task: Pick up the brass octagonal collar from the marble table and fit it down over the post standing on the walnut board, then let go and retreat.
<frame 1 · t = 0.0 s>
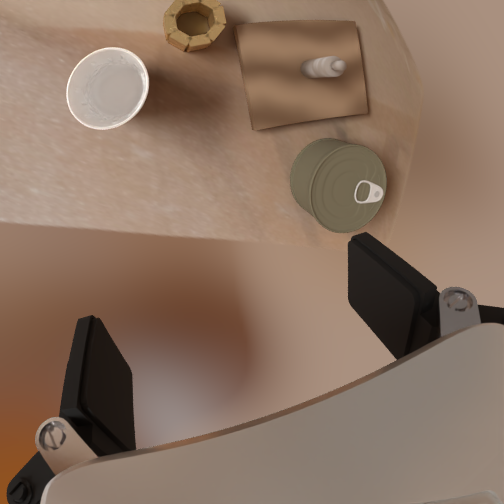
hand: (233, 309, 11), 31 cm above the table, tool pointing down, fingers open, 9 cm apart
ring: (191, 26, 30), on the table
white cup: (119, 91, 32), on the table
can: (325, 176, 45), on the table
post block: (304, 69, 36), on the table
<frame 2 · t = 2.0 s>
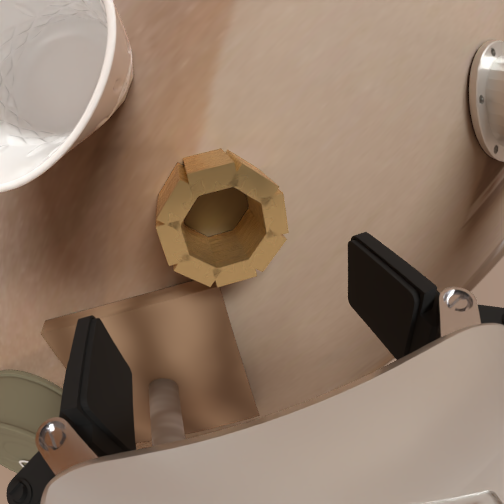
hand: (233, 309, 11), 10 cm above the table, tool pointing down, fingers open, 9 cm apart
ring: (213, 203, 20), on the table
white cup: (78, 76, 14), on the table
can: (35, 404, 24), on the table
post block: (162, 374, 25), on the table
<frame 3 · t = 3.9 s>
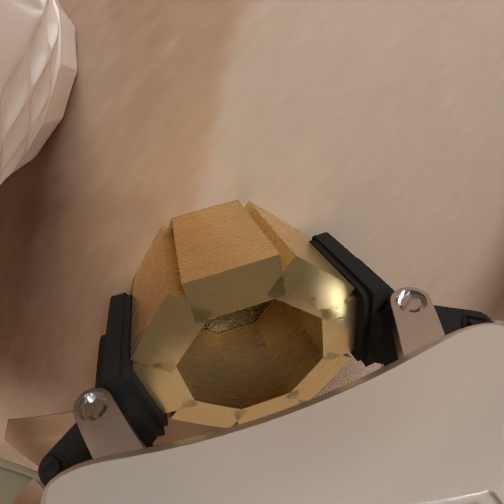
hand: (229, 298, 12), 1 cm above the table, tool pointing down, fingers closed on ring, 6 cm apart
ring: (225, 288, 12), on the table, touching gripper
can: (20, 482, 16), on the table
post block: (161, 468, 18), on the table
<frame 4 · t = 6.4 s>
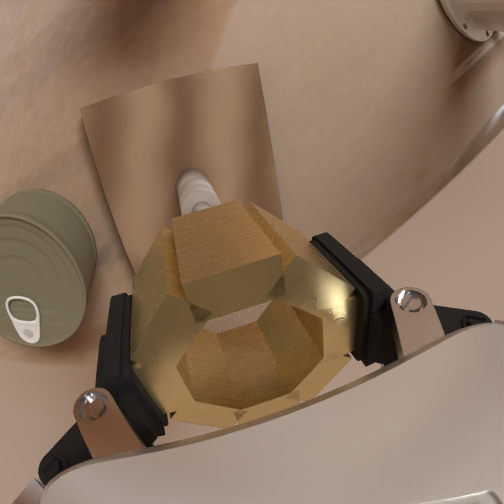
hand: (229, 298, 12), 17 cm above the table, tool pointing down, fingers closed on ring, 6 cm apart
ring: (225, 288, 12), point 16 cm above the table, touching gripper
can: (41, 247, 25), on the table
post block: (190, 178, 26), on the table
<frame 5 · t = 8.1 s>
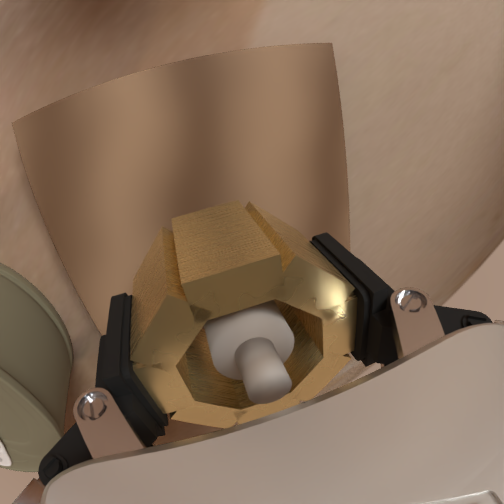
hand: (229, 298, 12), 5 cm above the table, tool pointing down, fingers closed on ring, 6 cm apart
ring: (225, 288, 12), point 4 cm above the table, touching gripper
post block: (209, 238, 16), on the table
when the fingers open (4 cm above the table, at t = 9.2 s): ring drops 2 cm, resting on post block.
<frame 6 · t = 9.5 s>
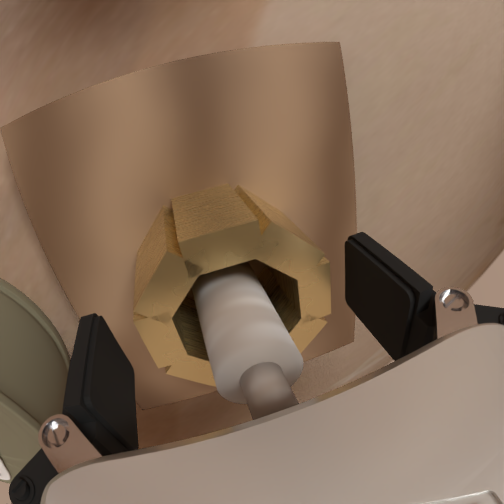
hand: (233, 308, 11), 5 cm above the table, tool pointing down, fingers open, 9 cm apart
ring: (217, 262, 14), point 1 cm above the table, touching post block
post block: (210, 248, 15), on the table
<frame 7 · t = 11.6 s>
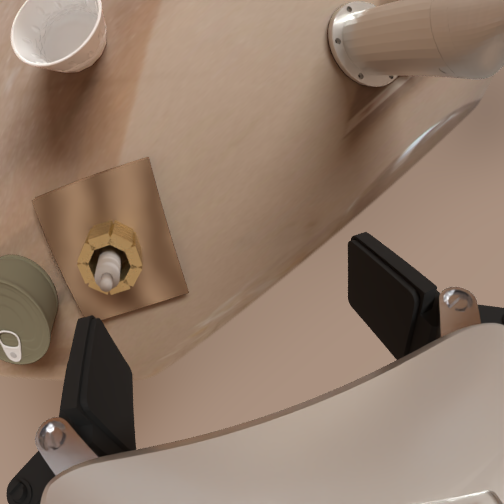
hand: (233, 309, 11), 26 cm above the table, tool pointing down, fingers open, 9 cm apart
ring: (111, 249, 33), point 1 cm above the table, touching post block
white cup: (77, 44, 24), on the table
can: (19, 294, 33), on the table
post block: (112, 244, 35), on the table
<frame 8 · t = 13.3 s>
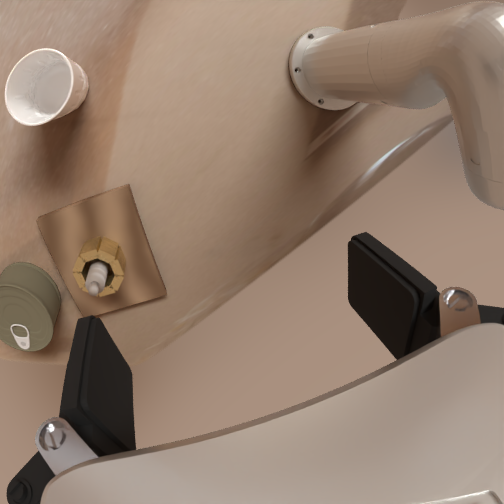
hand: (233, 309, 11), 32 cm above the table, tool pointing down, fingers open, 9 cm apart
ring: (101, 259, 40), point 1 cm above the table, touching post block
white cup: (65, 89, 30), on the table
can: (29, 293, 41), on the table
post block: (102, 254, 41), on the table
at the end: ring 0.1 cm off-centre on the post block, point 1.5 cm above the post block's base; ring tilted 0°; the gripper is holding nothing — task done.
